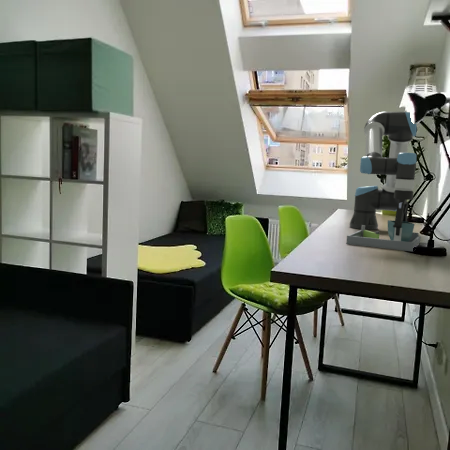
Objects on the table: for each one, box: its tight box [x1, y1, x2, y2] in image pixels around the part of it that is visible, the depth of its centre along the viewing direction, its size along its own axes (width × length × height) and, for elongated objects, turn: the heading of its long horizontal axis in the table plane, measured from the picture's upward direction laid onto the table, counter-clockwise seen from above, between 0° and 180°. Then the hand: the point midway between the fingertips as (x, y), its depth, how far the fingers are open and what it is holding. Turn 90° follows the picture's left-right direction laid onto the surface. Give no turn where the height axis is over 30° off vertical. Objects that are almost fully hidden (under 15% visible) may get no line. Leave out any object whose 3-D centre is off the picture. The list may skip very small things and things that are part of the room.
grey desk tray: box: [346, 225, 422, 252], centre depth 206 cm, size 24×26×6 cm
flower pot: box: [387, 219, 415, 242], centre depth 202 cm, size 9×9×9 cm
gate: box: [363, 229, 380, 239], centre depth 214 cm, size 2×12×5 cm, turn 11°
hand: (399, 241), depth 202 cm, fingers closed on flower pot, 11 cm apart
